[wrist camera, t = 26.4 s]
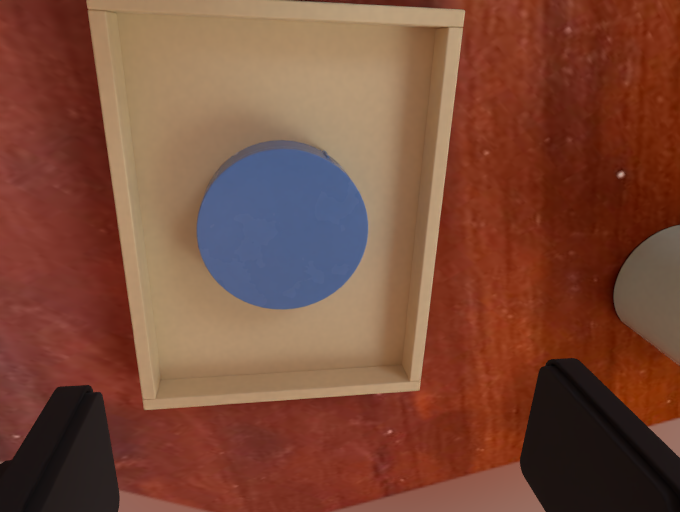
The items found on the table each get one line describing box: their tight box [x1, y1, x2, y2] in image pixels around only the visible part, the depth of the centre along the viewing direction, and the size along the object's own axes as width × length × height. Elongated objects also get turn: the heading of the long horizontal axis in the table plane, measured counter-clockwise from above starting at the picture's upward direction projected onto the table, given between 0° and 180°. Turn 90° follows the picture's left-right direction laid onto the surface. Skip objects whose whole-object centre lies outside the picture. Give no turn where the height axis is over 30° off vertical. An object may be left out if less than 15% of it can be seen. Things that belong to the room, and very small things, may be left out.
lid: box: [197, 140, 368, 309], centre depth 21 cm, size 7×7×2 cm
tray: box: [86, 0, 465, 410], centre depth 22 cm, size 17×13×2 cm
